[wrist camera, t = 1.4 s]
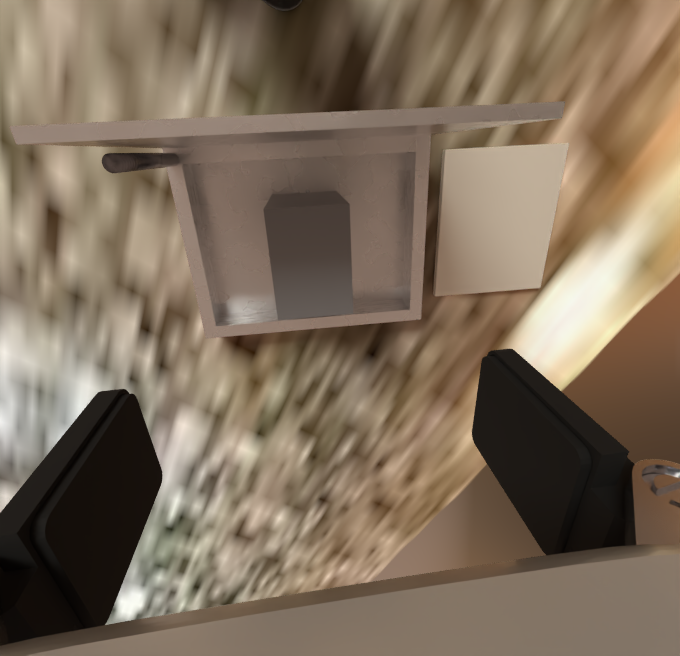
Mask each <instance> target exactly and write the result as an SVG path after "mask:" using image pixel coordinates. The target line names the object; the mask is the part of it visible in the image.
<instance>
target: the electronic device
mask: <svg viewBox="0 0 680 656" xmlns="http://www.w3.org/2000/svg"><path fill="white" fill-rule="evenodd" d="M263 1H264V2H265V3H267V4H268V5H270V6H271V7H273V8H275V9H277V10H281V11H289V10H292V9H294V8H296V7H297V6H298V5H299V4H300V3H301V2H302V0H263Z"/></svg>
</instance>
